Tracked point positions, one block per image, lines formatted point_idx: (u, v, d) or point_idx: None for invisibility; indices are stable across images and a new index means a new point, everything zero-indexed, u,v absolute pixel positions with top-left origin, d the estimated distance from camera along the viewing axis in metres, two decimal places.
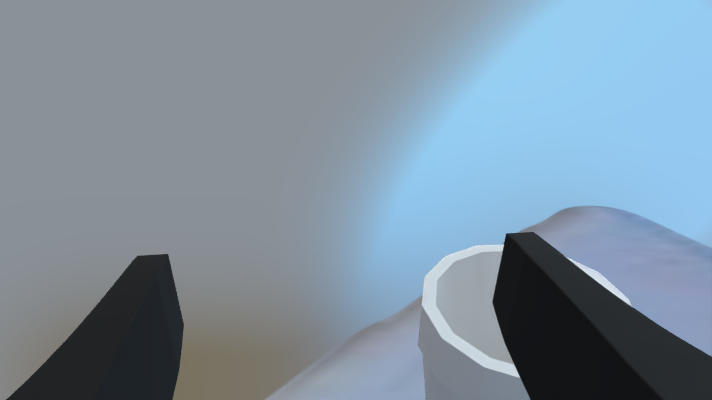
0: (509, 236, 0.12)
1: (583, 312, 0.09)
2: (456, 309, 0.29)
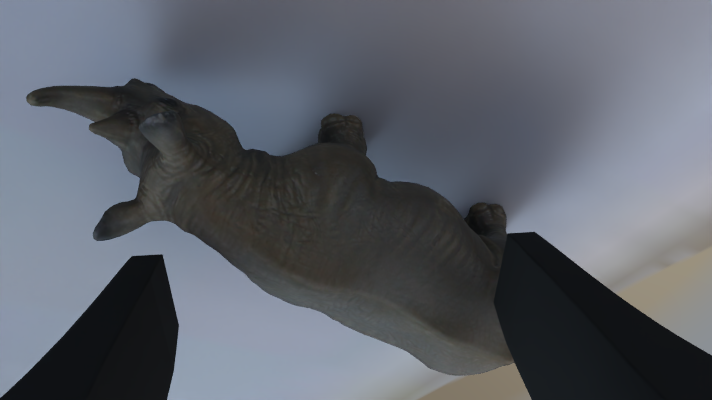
0: (510, 236, 0.12)
1: (585, 312, 0.09)
2: None
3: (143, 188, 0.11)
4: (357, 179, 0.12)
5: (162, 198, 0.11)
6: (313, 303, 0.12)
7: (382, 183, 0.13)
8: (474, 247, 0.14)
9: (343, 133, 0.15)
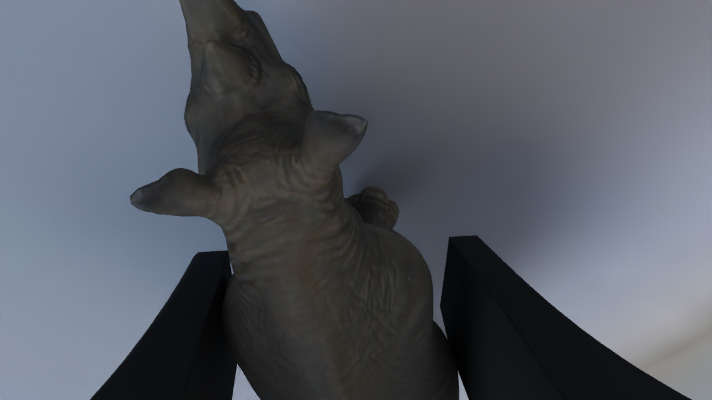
0: (451, 239, 0.12)
1: (510, 318, 0.09)
2: None
3: (236, 176, 0.07)
4: (430, 305, 0.10)
5: (254, 205, 0.07)
6: None
7: None
8: None
9: (382, 218, 0.13)
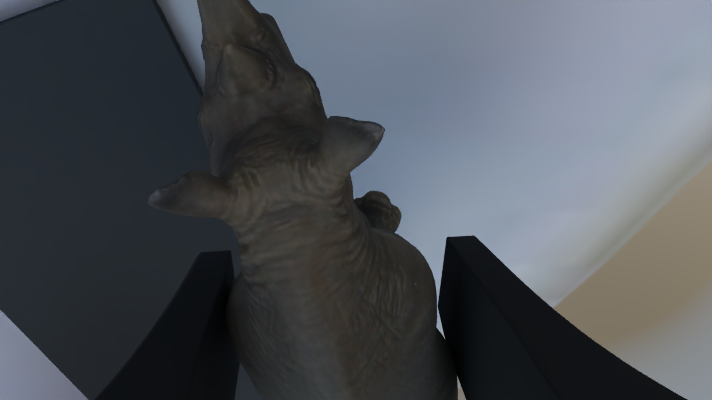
0: (449, 239, 0.12)
1: (507, 318, 0.09)
2: None
3: (251, 177, 0.07)
4: (434, 311, 0.10)
5: (268, 208, 0.07)
6: None
7: None
8: None
9: (384, 222, 0.13)
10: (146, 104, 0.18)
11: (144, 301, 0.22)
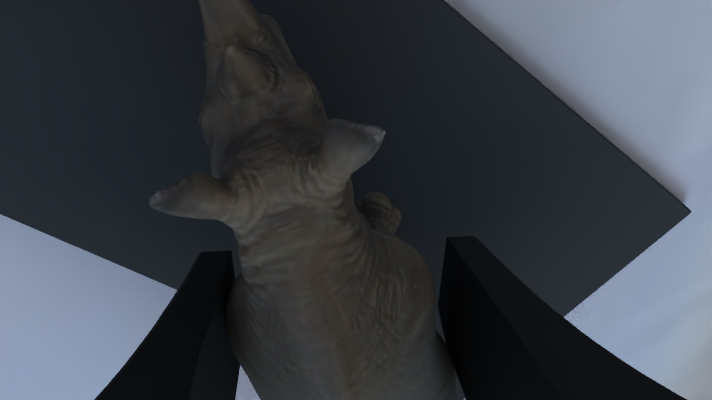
0: (449, 240, 0.12)
1: (507, 318, 0.09)
2: None
3: (252, 180, 0.07)
4: (434, 312, 0.10)
5: (269, 210, 0.07)
6: None
7: None
8: None
9: (384, 223, 0.13)
10: None
11: None
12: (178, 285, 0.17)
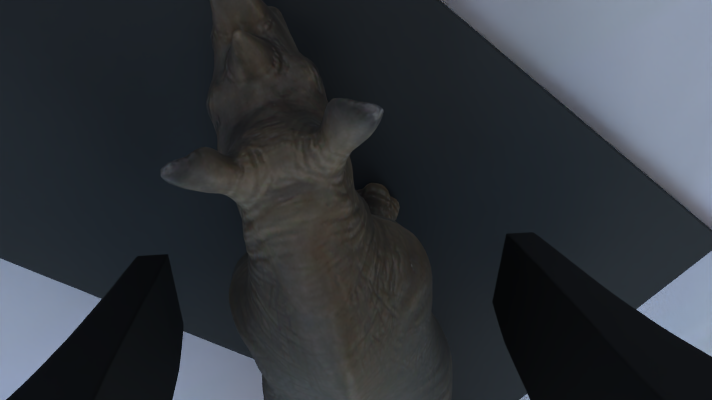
0: (509, 236, 0.12)
1: (583, 312, 0.09)
2: None
3: (256, 156, 0.08)
4: (430, 294, 0.10)
5: (273, 185, 0.08)
6: None
7: None
8: None
9: (383, 213, 0.13)
10: None
11: None
12: None
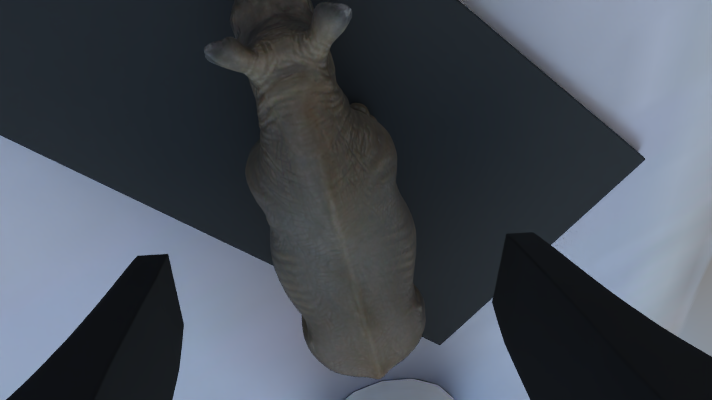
0: (509, 236, 0.12)
1: (583, 312, 0.09)
2: None
3: (267, 46, 0.11)
4: (394, 166, 0.14)
5: (278, 66, 0.11)
6: (306, 233, 0.13)
7: None
8: (413, 275, 0.16)
9: None
10: None
11: None
12: (196, 224, 0.19)
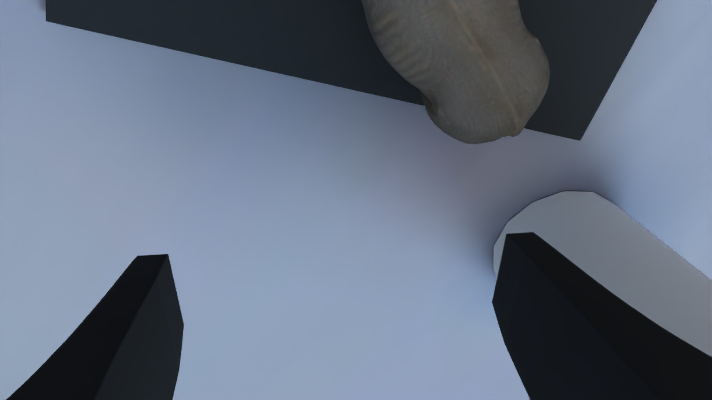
0: (509, 236, 0.12)
1: (583, 312, 0.09)
2: None
3: None
4: None
5: None
6: None
7: None
8: None
9: None
10: None
11: None
12: (302, 73, 0.20)
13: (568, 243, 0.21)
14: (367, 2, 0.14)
